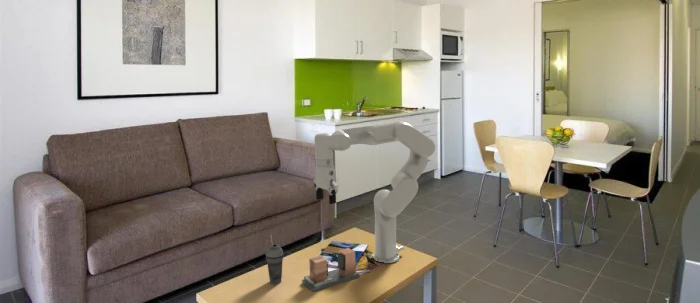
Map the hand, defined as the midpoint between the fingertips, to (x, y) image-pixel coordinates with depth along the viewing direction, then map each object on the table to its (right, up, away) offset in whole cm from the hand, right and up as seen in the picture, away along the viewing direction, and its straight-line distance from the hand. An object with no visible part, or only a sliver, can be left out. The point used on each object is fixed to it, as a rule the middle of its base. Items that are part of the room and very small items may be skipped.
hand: (326, 201), depth 199 cm
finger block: (-2, -30, -15) cm, 34 cm away
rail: (+3, -31, -12) cm, 33 cm away
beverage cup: (-20, -32, -13) cm, 39 cm away
